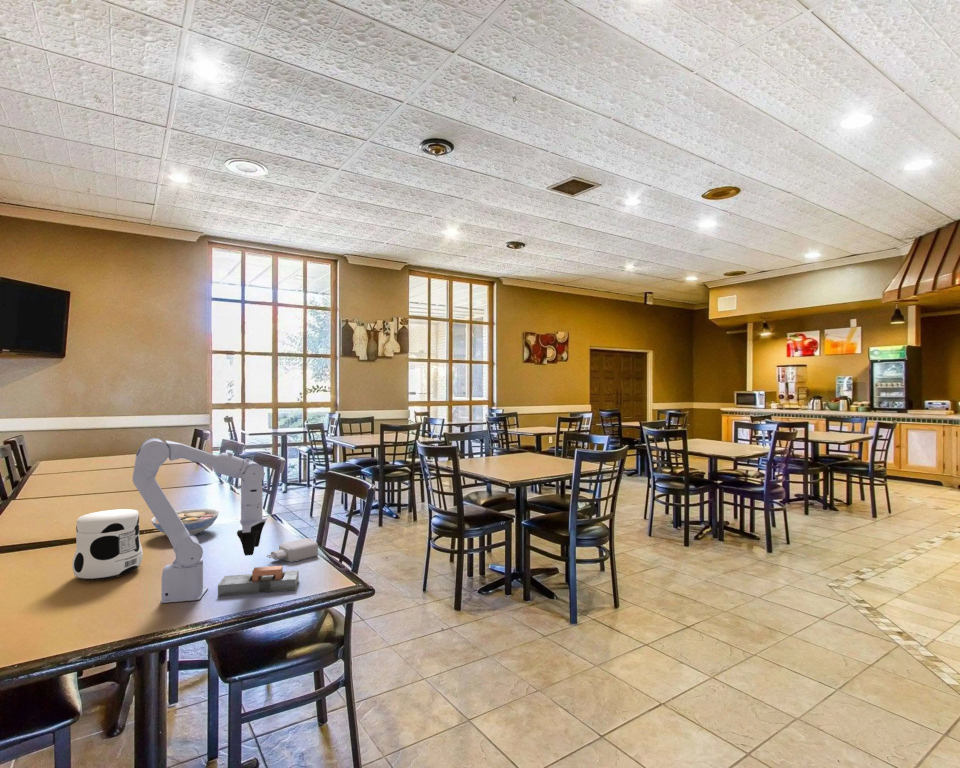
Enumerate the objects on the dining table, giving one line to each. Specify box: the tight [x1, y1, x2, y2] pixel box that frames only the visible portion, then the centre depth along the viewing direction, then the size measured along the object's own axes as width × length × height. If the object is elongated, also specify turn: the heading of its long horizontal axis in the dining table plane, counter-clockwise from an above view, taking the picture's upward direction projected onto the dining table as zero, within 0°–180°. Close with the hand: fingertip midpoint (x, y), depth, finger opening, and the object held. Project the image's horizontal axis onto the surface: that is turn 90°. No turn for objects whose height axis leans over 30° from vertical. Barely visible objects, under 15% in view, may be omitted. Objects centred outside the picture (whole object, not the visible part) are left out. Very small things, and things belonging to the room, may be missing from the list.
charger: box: [266, 537, 319, 563], centre depth 171 cm, size 5×9×15 cm
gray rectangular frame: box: [217, 570, 300, 597], centre depth 146 cm, size 20×7×3 cm, turn 102°
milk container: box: [71, 508, 144, 581], centre depth 157 cm, size 17×17×18 cm
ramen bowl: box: [150, 508, 220, 536], centre depth 198 cm, size 25×23×8 cm
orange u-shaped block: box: [251, 565, 284, 581], centre depth 146 cm, size 8×3×6 cm, turn 102°
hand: (251, 550), depth 150 cm, fingers open, 7 cm apart
